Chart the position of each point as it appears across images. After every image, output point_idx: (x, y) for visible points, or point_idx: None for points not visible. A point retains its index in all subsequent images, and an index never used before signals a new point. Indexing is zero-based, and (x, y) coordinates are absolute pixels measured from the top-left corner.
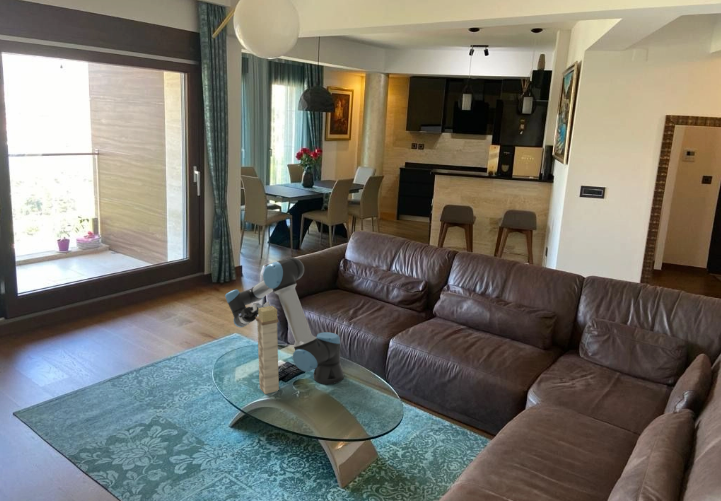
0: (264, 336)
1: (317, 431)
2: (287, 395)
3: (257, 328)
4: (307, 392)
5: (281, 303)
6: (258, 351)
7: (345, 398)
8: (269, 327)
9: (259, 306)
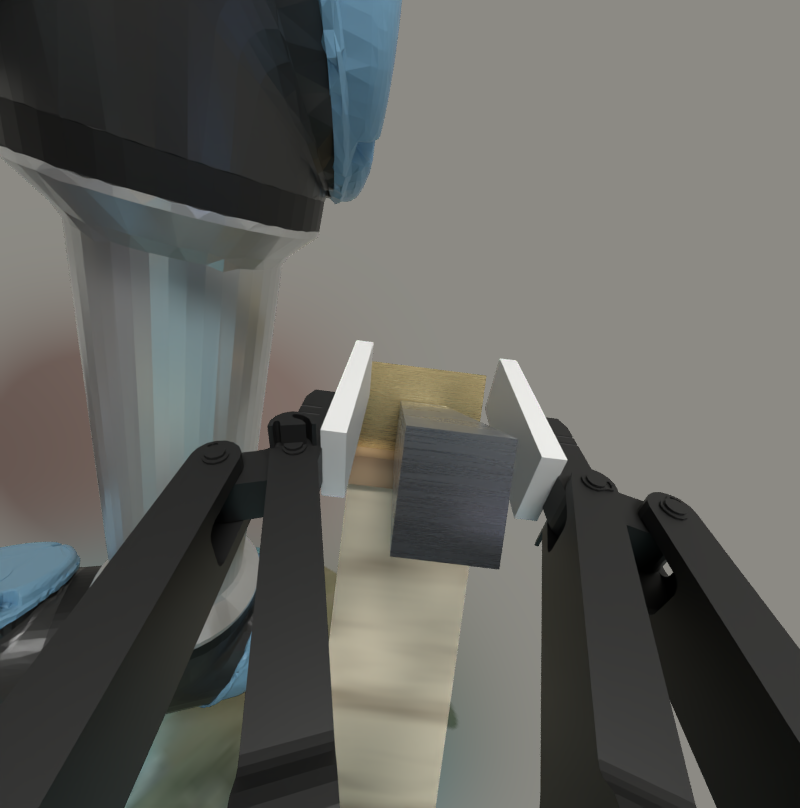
0: None
1: None
2: None
3: (468, 571)
4: (218, 766)
5: (262, 353)
6: (439, 768)
7: None
8: None
9: (440, 413)
